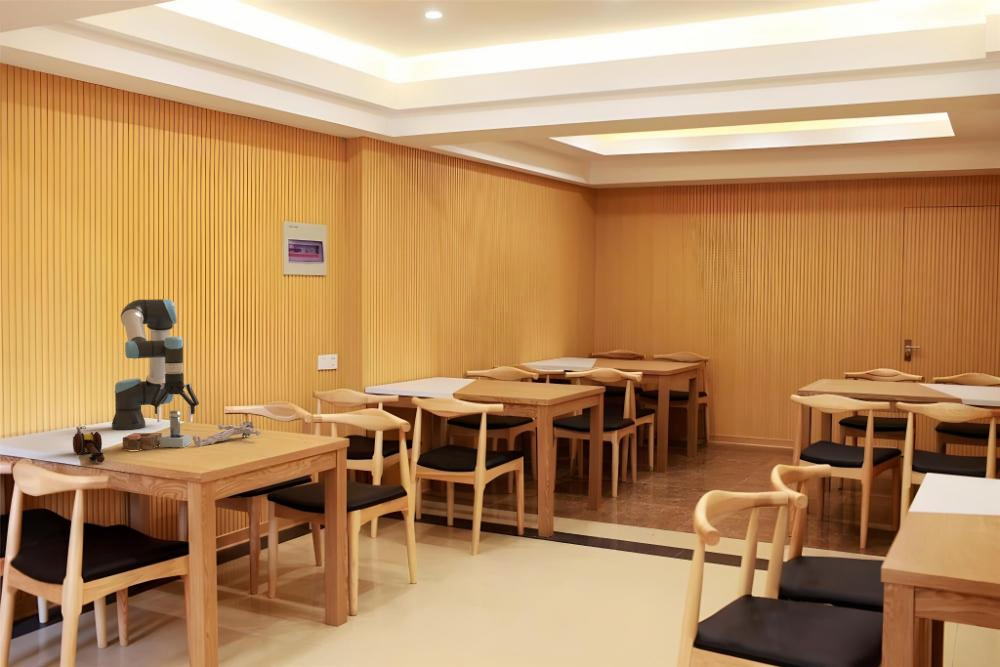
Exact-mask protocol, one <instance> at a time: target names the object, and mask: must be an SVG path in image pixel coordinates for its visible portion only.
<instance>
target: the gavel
mask: <svg viewBox="0 0 1000 667" xmlns="http://www.w3.org/2000/svg"><path fill="white" fill-rule="evenodd" d="M85 429H87V427H86V426H76V430H77V432H76V433H75V434H74V436H72V449H73V452H74V453H75V454H76V453H77V454H76V455H80V454H81V453H84V454H85V453H91V456H90V457H89V459H90V461H91V462H93V461H96V462H97V463H101V464H102V463H103V462H104V461H105V458H106V457H105V456H104V455H103V452H101V450H102V446H103V440H102V435H101V434H100V433H99V432H98V431H95V432H92V431H91V432H89V433H83V432H81V431H82V430H85Z"/></svg>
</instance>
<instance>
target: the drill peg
mask: <svg viewBox="0 0 1000 667" xmlns="http://www.w3.org/2000/svg"><path fill="white" fill-rule="evenodd" d="M169 425H170V426H169V428H170V429H169V430H170V432H169V435H170V438H180V435H181V410H170V411H169Z"/></svg>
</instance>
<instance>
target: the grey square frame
mask: <svg viewBox="0 0 1000 667" xmlns="http://www.w3.org/2000/svg"><path fill="white" fill-rule="evenodd" d="M159 441H160V446H159V448H160V447H180V448H179V449H184V448H186V447H188V446H190V445H191V444H192V434H180V438H170V434H166V435H164V436H162V438H160V439H159ZM189 444H190V445H189ZM187 445H188V446H187ZM185 446H186V447H185ZM183 447H184V448H183Z"/></svg>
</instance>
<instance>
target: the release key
mask: <svg viewBox="0 0 1000 667" xmlns="http://www.w3.org/2000/svg"><path fill="white" fill-rule="evenodd" d="M131 434H132V435H131ZM131 434H129V435H130V436H129V439H133V442H137V439H140V438H141V434H133V433H131Z"/></svg>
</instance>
